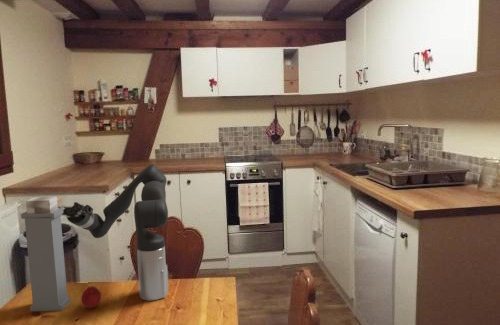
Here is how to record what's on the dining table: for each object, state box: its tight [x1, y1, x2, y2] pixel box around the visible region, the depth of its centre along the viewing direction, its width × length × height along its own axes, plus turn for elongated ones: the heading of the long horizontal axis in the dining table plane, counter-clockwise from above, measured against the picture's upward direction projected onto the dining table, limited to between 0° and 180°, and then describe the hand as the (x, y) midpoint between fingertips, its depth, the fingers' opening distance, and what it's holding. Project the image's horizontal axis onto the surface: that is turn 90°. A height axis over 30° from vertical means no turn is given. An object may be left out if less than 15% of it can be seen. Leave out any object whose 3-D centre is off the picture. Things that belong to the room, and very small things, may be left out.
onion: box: [80, 283, 102, 309], centre depth 118 cm, size 6×6×8 cm
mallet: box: [25, 196, 63, 214], centre depth 119 cm, size 7×14×4 cm, turn 4°
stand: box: [20, 208, 72, 312], centre depth 117 cm, size 10×6×32 cm, turn 92°
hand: (62, 205), depth 128 cm, fingers open, 8 cm apart
